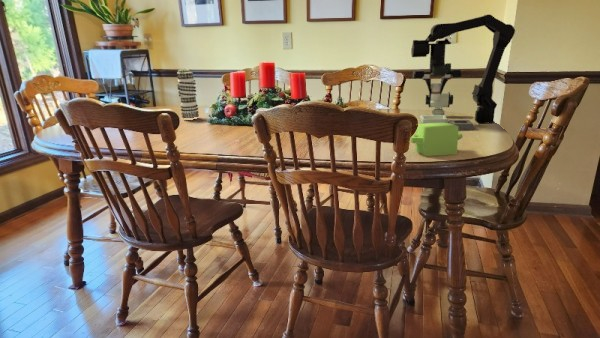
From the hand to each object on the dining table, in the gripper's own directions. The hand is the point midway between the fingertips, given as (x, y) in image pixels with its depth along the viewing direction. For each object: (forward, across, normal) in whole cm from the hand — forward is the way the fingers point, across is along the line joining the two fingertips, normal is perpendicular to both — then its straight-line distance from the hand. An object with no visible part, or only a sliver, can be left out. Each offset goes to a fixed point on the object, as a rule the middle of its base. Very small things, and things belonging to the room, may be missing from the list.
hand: (435, 94), depth 173 cm
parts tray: (+12, 0, 0) cm, 12 cm away
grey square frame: (+12, +9, -10) cm, 18 cm away
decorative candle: (+12, -118, +16) cm, 120 cm away
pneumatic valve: (+12, +4, +14) cm, 19 cm away
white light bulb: (+4, 0, 0) cm, 4 cm away
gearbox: (+12, -6, -45) cm, 47 cm away
